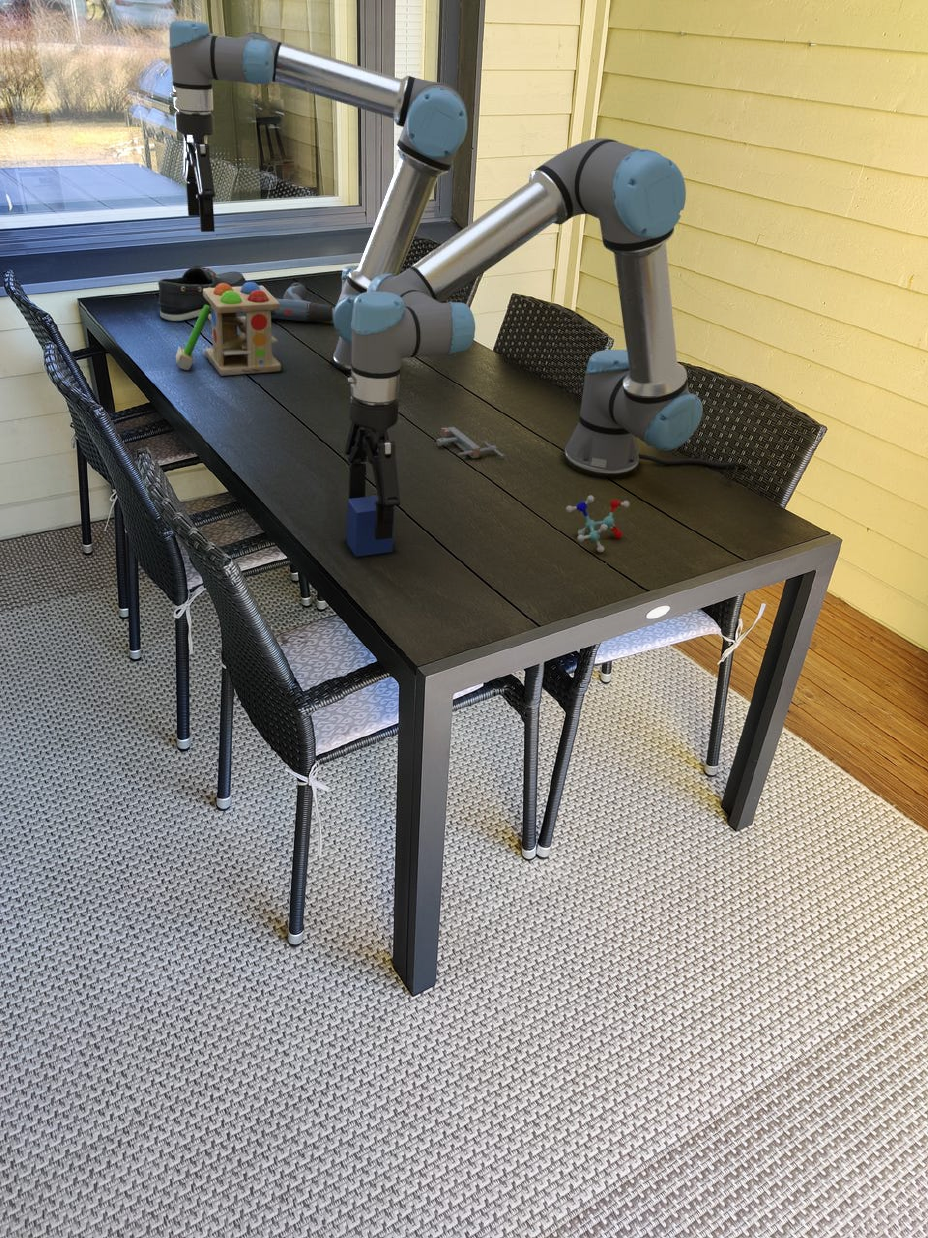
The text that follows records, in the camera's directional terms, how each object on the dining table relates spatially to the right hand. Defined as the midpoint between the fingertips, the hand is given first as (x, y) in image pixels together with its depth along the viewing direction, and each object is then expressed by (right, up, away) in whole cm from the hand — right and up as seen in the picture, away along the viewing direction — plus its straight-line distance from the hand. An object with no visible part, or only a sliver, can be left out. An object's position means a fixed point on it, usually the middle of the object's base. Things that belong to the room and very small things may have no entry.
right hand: (369, 518), depth 163 cm
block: (0, -5, +3) cm, 6 cm away
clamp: (+16, +18, +39) cm, 46 cm away
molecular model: (+39, -3, +12) cm, 41 cm away
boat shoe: (-54, +68, +102) cm, 134 cm away
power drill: (-27, +67, +104) cm, 126 cm away
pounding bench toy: (-40, +43, +67) cm, 89 cm away
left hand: (-40, +67, +44) cm, 89 cm away
